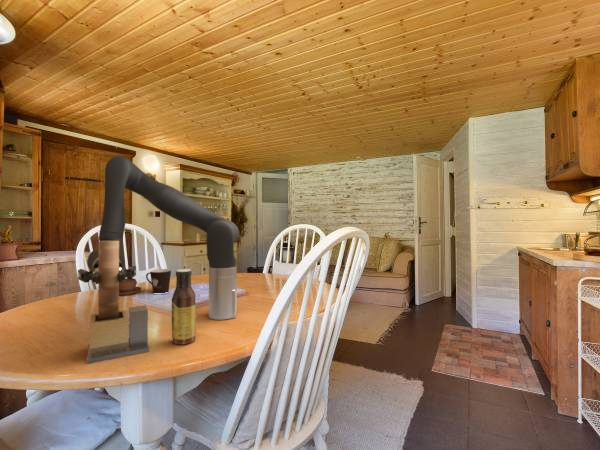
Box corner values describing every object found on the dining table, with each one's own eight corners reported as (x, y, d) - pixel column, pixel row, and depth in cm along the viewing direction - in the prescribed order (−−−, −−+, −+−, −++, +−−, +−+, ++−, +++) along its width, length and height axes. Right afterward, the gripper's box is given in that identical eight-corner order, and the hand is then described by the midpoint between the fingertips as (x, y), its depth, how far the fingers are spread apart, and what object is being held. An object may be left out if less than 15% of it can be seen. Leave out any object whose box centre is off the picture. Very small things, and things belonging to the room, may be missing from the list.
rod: (121, 324, 83) (122, 240, 82) (113, 331, 78) (114, 241, 78) (103, 325, 82) (103, 240, 81) (94, 331, 78) (95, 241, 77)
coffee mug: (174, 292, 142) (174, 270, 142) (155, 296, 136) (155, 273, 136) (163, 288, 150) (163, 267, 150) (144, 291, 144) (144, 269, 144)
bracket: (88, 348, 82) (88, 309, 82) (144, 338, 89) (144, 303, 89) (87, 363, 74) (87, 320, 73) (148, 351, 80) (149, 312, 80)
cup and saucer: (118, 290, 146) (118, 277, 146) (145, 290, 147) (145, 277, 147) (105, 297, 134) (105, 282, 134) (135, 296, 135) (135, 282, 135)
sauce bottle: (177, 336, 91) (177, 267, 90) (199, 337, 90) (199, 267, 90) (167, 345, 84) (167, 271, 84) (190, 346, 84) (190, 271, 84)
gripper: (77, 256, 88) (73, 265, 73) (135, 254, 96) (141, 261, 81) (77, 283, 88) (73, 297, 74) (135, 279, 96) (141, 290, 81)
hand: (109, 278), depth 77 cm, fingers closed on rod, 4 cm apart
